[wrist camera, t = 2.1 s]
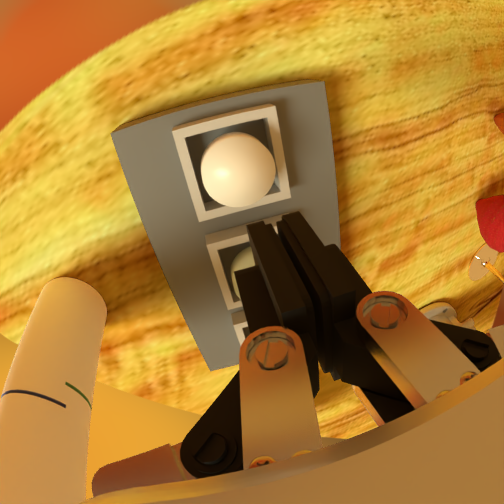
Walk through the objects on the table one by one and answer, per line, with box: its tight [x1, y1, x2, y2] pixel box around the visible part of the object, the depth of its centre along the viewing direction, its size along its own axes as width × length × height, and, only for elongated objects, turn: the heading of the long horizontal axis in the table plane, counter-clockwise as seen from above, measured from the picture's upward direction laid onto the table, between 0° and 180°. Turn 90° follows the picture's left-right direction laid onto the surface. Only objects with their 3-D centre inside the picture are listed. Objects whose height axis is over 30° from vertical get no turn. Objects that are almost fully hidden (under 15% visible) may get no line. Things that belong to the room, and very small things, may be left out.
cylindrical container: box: [0, 277, 107, 504], centre depth 17 cm, size 7×7×25 cm
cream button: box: [201, 132, 276, 207], centre depth 19 cm, size 4×4×2 cm
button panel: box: [111, 79, 341, 371], centre depth 25 cm, size 14×24×4 cm, turn 11°
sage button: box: [230, 246, 255, 299], centre depth 23 cm, size 4×4×2 cm
